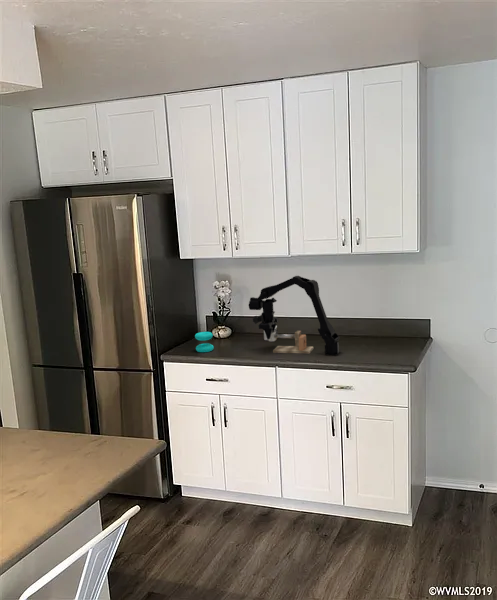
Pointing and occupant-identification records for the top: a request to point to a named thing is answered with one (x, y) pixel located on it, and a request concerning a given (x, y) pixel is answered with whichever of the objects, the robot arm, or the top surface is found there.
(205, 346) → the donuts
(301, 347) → the spacer
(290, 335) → the shaft
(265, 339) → the medicine bottle
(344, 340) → the top surface
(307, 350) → the bracket
